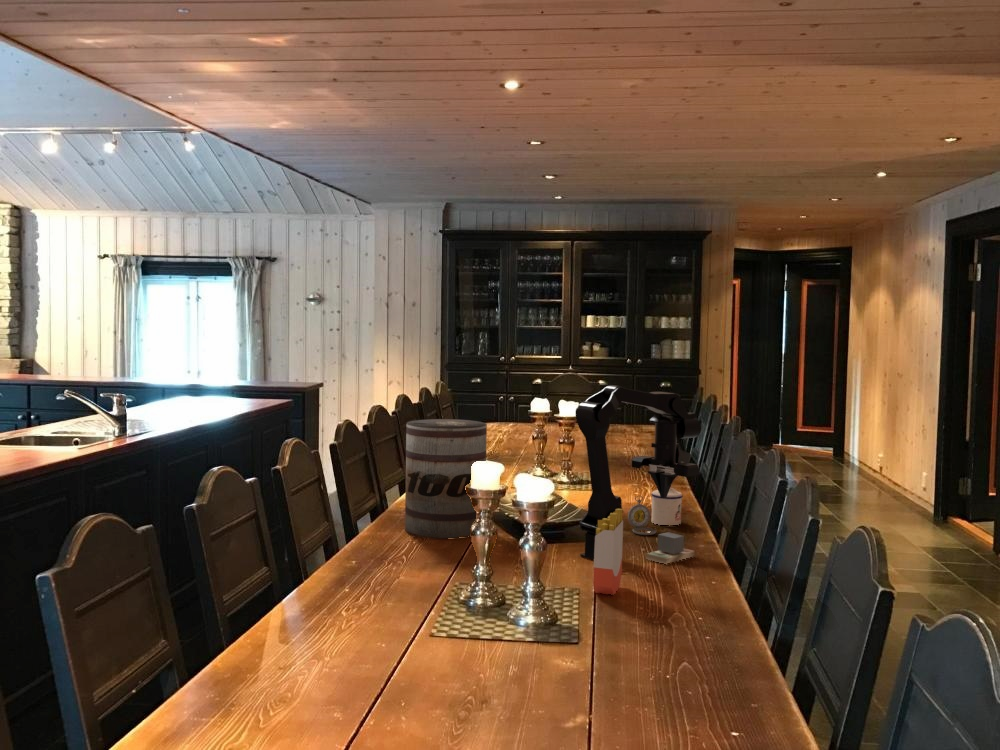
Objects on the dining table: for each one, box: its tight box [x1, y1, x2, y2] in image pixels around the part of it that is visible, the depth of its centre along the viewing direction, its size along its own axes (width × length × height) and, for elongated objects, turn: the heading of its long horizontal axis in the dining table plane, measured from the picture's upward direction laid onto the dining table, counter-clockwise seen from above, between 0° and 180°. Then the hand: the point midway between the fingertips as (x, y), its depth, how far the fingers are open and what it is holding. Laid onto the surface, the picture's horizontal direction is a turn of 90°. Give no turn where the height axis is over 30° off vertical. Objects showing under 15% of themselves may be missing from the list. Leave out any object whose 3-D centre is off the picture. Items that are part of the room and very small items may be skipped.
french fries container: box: [592, 508, 624, 596], centre depth 195 cm, size 5×11×18 cm, turn 161°
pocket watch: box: [627, 495, 657, 536], centre depth 250 cm, size 8×8×10 cm
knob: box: [657, 531, 685, 554], centre depth 223 cm, size 4×5×4 cm
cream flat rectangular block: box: [645, 547, 695, 565], centre depth 223 cm, size 12×6×2 cm, turn 131°
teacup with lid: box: [650, 487, 683, 527], centre depth 263 cm, size 12×9×12 cm
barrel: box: [404, 418, 488, 540], centre depth 248 cm, size 22×22×30 cm
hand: (663, 498), depth 234 cm, fingers closed
